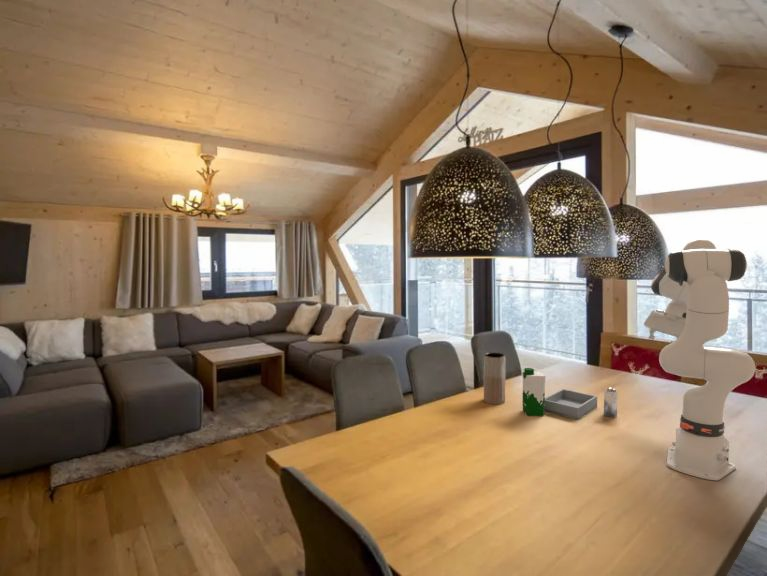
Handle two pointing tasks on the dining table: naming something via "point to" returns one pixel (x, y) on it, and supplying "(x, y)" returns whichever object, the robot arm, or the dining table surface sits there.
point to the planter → (494, 378)
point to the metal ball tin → (610, 402)
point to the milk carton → (533, 392)
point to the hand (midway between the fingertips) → (661, 342)
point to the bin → (570, 403)
